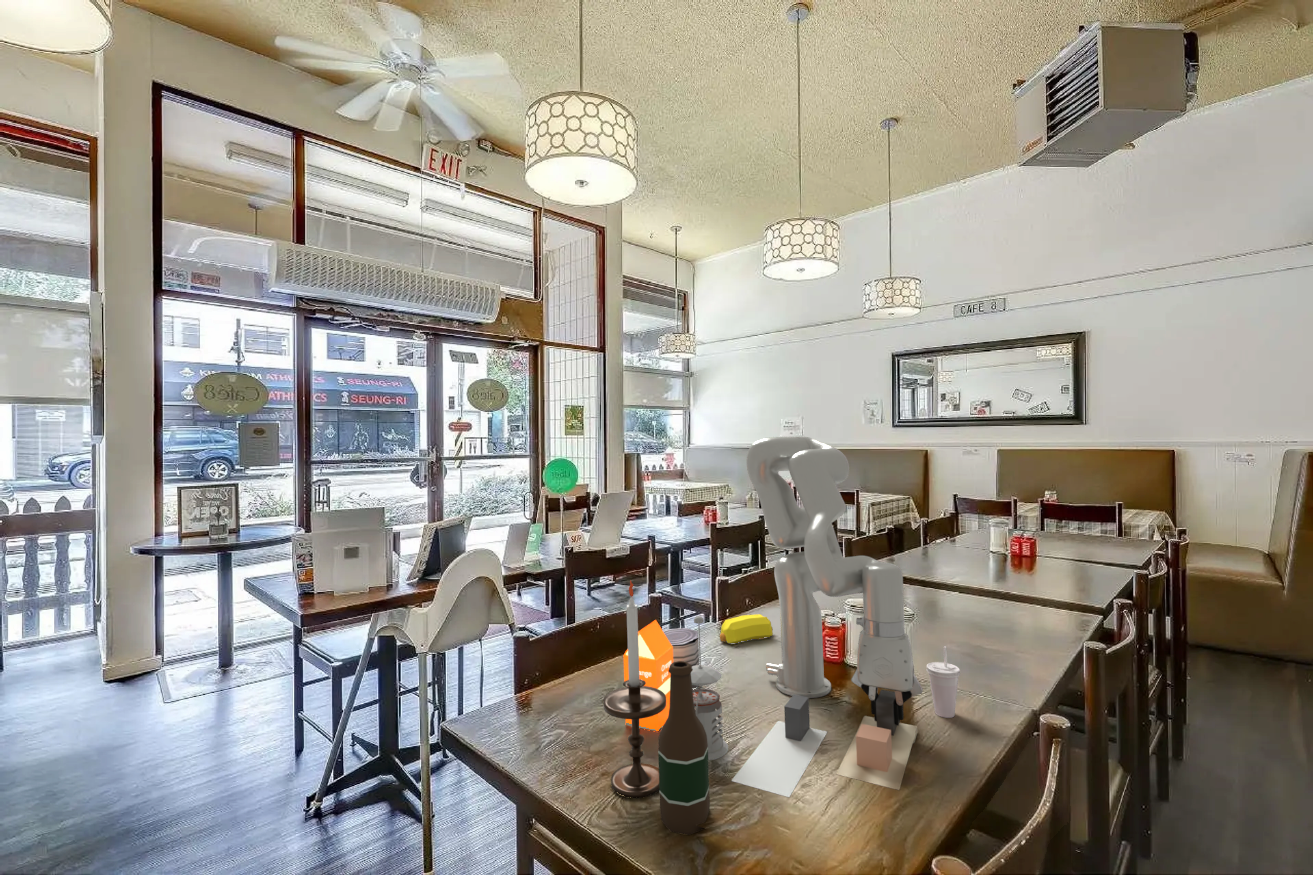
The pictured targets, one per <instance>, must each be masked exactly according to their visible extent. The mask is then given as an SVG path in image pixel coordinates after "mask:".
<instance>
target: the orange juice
mask: <svg viewBox="0 0 1313 875" xmlns="http://www.w3.org/2000/svg"><path fill="white" fill-rule="evenodd" d="M663 631H664V630H663V628H662V627H661V626H660V624H659V623H658V621H657V619H655V620H653V621H651V622H650V623H649V624H647V625H645V626H644V627H643V628H641V629H640V630H638V646H639V678H640V679H641V680H644V681H645V682H646V684H645V685H644V686H648V687H653V688H656V689H659V690H661V691H662V692H663V693H664V694H665V696H666V707H665V708H664V710H662V711H661V712H660V713H658V714H656V715H654V716H651V717H647V718H642V719H639V726H641V727H646V728H649V729H655V730H656V731H659V729H660V728H661V727H662V726H663V725H664V724H665V722H666V720H667V718H668V715H669V708H670V675H671V673H669V672H668V671H669V667H670V665H671V664H672V663H673V646H672V645H671V644H670V642H669V640H668V639H667V637H666V635H665V634H664V632H663ZM623 679H624V680H623V681H624V682H625V681H627V680H629V670H628V648H627V649H626V650H625V652H624V654H623ZM624 682H623V683H624ZM626 723H629V724H632V719H625V724H626ZM659 732H660V731H659Z"/></svg>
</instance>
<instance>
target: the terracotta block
mask: <svg viewBox="0 0 1313 875" xmlns="http://www.w3.org/2000/svg"><path fill="white" fill-rule="evenodd" d="M860 724H861V723H860ZM856 751H857V765H860V766H864V767H868V768H872V769H876V770H880V771H884V772H888V769H889V766H890V763H891V760H892V743H891V730H889V729H884V728H879V727H875V726H870V725H865V724H861V727H860V729H859V731H858V733H857V735H856Z"/></svg>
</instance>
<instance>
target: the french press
mask: <svg viewBox="0 0 1313 875" xmlns="http://www.w3.org/2000/svg"><path fill="white" fill-rule="evenodd" d="M693 623H694V624H696V625H698V642H699V665H696V666H692V669H693V670H692V672H691V680H692V685H697V686H698V687H700V688H696V689H694V690H693V689H692V691H693V702H694V708H695V713H696V716H697V718H698V719H699V720H700V722H701V723H702V725H703V727H704V729H705V732H706V734H707V743H708V761H714V760H717V759H720V758H721V757H723V756H725V755H726V754H727V752H728V751H729V744H728V743H727V742H726V741H725V739H724V736H722V735H723V734H724V733H723V729H722V728H723V723H722V722H721V721H723V716H722V715H721V714H723V707H722V706H723V705H722V704H723V703H722V701H720V699H721V698H720V697H721V696H720V694H719V693H718V692H717V691H715V690H713V689H709V688H702V686H708V685H711V684H715V683H718V682H719V681H720V679H722V673H721V672H720V670H718V669H716V668H714V667H713V666H710V665H705V664H701V663H702V661H701V633H700V632H701V629H700V624H704V618H703V617H702V616H701V615H699V616H698V615H697V616H694V618H693ZM717 731H719V732H717Z"/></svg>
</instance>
